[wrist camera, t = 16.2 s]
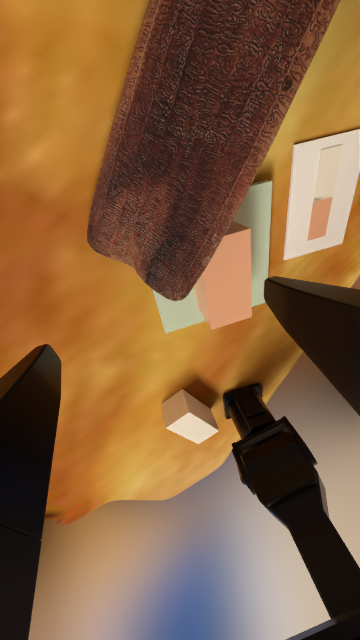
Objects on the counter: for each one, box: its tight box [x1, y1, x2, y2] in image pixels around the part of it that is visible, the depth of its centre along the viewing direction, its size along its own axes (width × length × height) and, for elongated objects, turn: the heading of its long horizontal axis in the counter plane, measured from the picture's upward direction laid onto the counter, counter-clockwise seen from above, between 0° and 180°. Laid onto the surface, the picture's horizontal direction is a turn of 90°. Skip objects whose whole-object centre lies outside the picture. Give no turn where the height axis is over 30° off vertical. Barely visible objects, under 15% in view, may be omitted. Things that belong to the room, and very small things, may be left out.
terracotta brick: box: [194, 221, 252, 330], centre depth 20 cm, size 8×4×4 cm, turn 12°
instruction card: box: [283, 129, 360, 260], centre depth 22 cm, size 10×7×1 cm
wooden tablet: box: [87, 0, 340, 301], centre depth 12 cm, size 26×2×10 cm
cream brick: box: [161, 389, 219, 444], centre depth 33 cm, size 8×4×4 cm, turn 37°
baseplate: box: [152, 180, 272, 333], centre depth 22 cm, size 12×12×1 cm
